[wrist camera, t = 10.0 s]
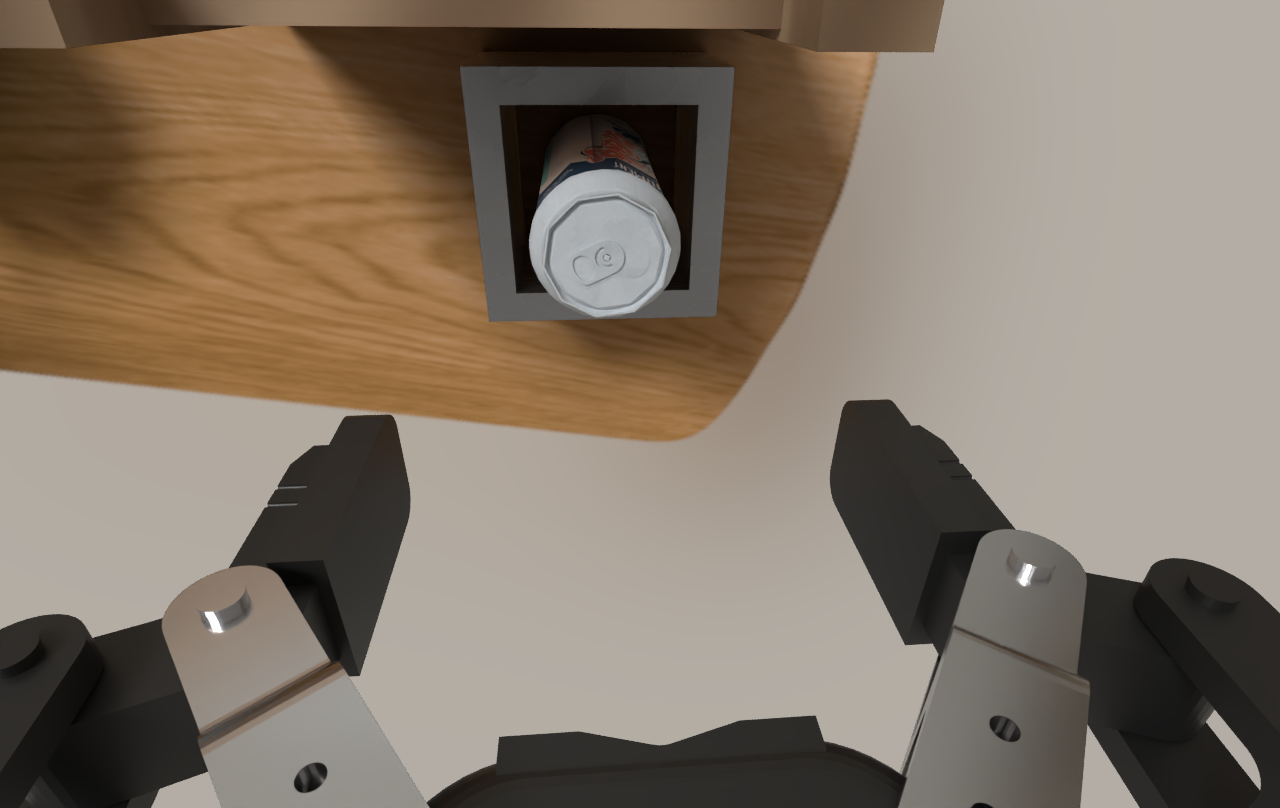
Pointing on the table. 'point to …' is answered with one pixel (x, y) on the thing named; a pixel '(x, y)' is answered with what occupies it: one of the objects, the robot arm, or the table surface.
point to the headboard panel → (482, 18)
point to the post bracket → (598, 81)
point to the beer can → (602, 220)
